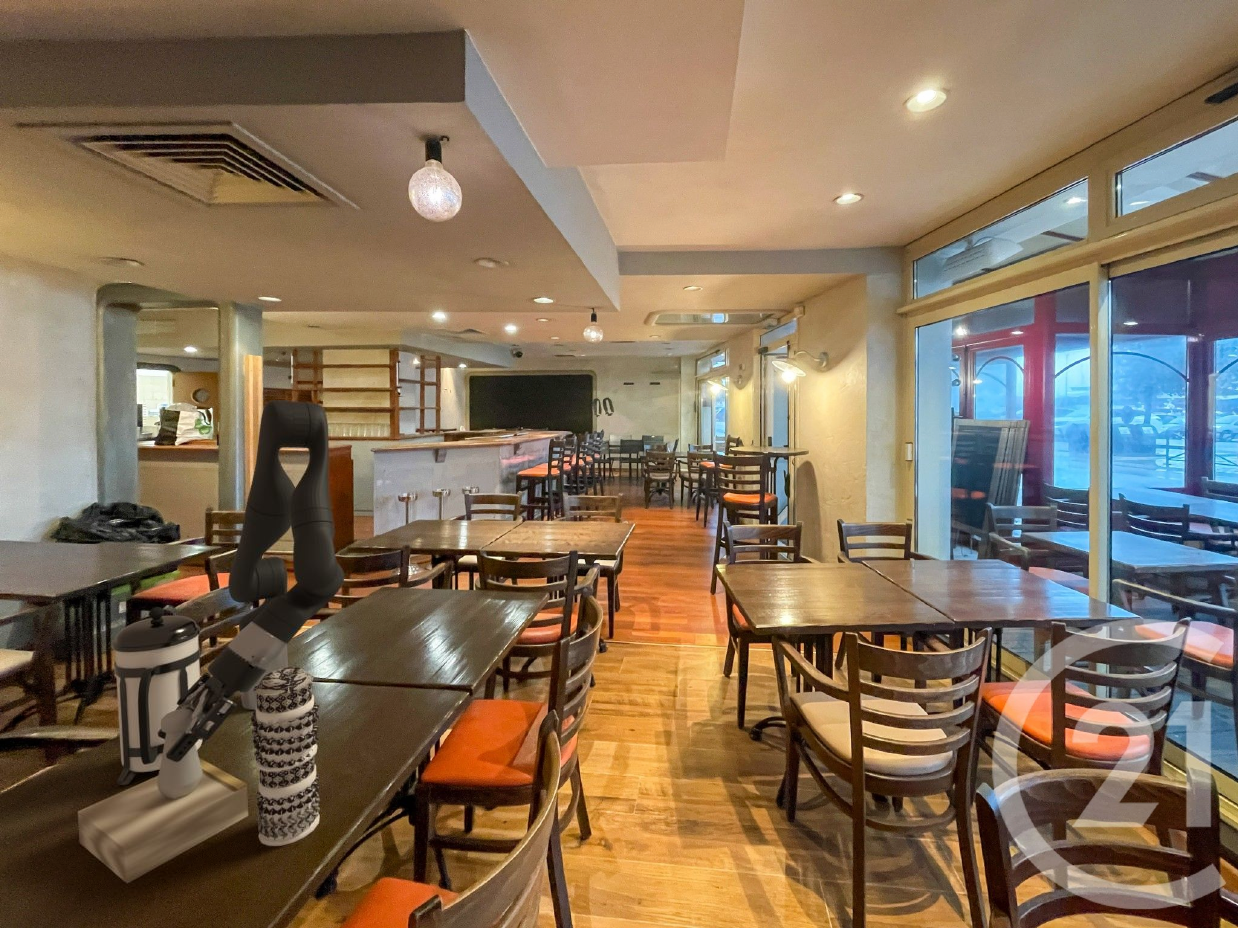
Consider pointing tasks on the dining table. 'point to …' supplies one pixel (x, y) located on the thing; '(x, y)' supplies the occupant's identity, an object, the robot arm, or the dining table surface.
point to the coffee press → (152, 684)
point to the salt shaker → (182, 774)
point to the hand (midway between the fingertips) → (166, 748)
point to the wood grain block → (160, 822)
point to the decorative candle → (286, 756)
